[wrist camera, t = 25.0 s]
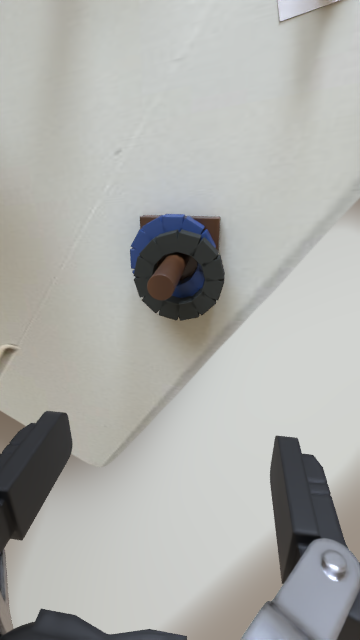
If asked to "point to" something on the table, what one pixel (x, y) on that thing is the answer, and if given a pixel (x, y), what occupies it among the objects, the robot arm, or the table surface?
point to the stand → (177, 260)
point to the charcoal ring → (189, 246)
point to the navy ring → (166, 225)
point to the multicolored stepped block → (299, 7)
